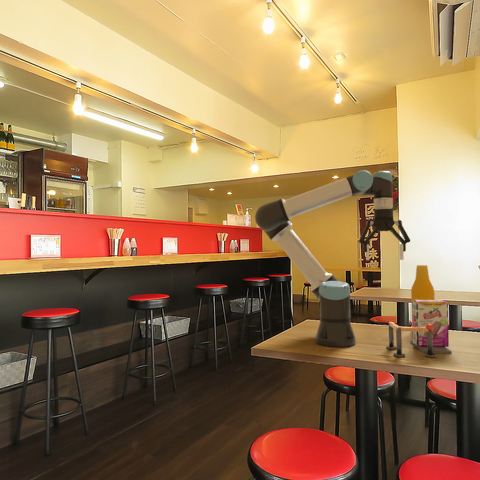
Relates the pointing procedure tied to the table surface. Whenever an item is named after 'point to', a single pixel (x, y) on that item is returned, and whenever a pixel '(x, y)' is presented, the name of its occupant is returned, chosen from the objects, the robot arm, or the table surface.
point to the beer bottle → (421, 286)
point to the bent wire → (399, 341)
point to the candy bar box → (431, 322)
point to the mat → (434, 349)
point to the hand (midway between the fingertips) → (384, 260)
